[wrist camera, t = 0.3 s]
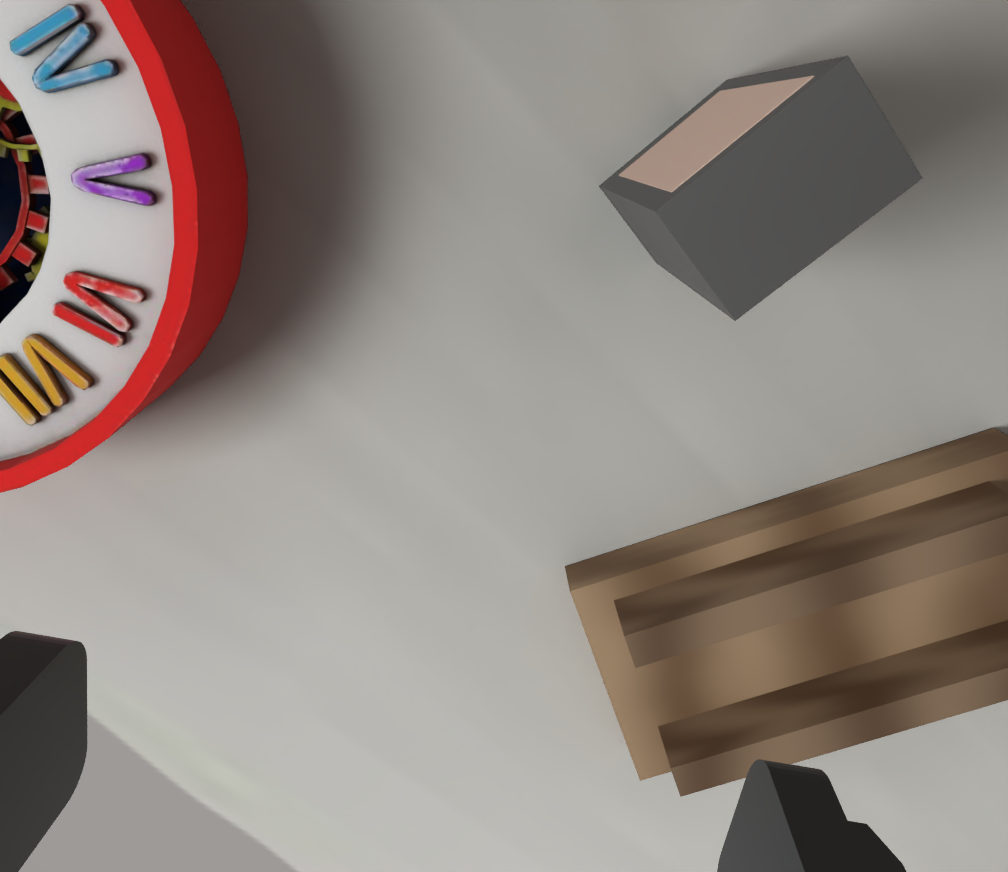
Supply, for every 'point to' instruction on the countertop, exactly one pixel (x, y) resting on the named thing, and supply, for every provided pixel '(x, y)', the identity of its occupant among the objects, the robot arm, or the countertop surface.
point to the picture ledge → (808, 617)
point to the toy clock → (107, 218)
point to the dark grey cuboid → (762, 180)
